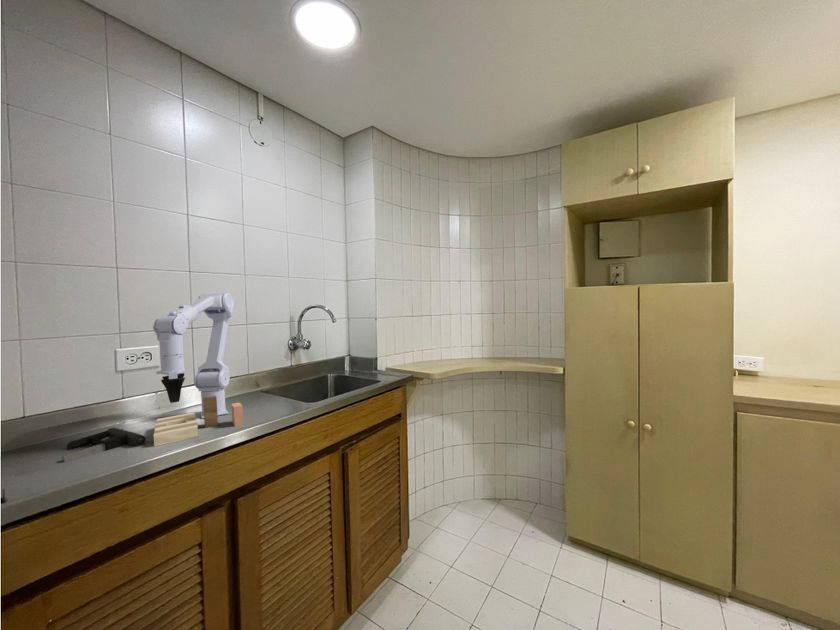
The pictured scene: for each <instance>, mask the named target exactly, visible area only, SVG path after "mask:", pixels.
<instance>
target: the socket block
mask: <svg viewBox="0 0 840 630" xmlns="http://www.w3.org/2000/svg"><path fill="white" fill-rule="evenodd" d="M198 428H199V427H198V423H197V419H196V414H195V412H189V413H183V414H177V415H172V416H166V417H162V418H157V419H156V421H155V427H154V432H153V446H154V447H157V446H161V445H162V446H163V445H167V444H171V443H176V442H181V441H184V440H185V441H186V440H190V439H195V438H198V437H199V429H198Z"/></svg>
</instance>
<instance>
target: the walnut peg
mask: <svg viewBox="0 0 840 630" xmlns="http://www.w3.org/2000/svg"><path fill="white" fill-rule="evenodd" d="M203 405H204V418H203V419H204V421H203V422H204V427H205V429H208V428H212V427H216V426H217V427H218V426H219V419H218V418H219V417H218V416H219V415H217V399H216V396H209V397H203Z"/></svg>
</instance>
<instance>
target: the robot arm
mask: <svg viewBox="0 0 840 630" xmlns="http://www.w3.org/2000/svg"><path fill="white" fill-rule="evenodd" d="M234 306H235V302H234V298H233V296H232V295H231V293H229V292H224V293H222V292H221V293H203V294H201V295H198V299H197V300H195V301H194V302H192V303H191V304H190V305H189V304H188V305H187V304H180V305H179V306H178V308H177V309H175V310H174V311H173V310H172V311H170V312H169V313H168V314H167V315H166V316H165V315H162V316H159V317H158V318H156V320H155V321H154V323H153V326H152V329H153V331H154V333H155V335H156V340H157V341H159V355H160V356H159V358H160V370H158V371H156V372H155V373H156V375H164V376H162V379H160V381H161V382H160V383H162V385H163V386H164V388H165V390H166V393H167V397H168V401H169V402H170V404H173V403H179V402H180V399H181V393H182V386H183V383H184V382H185V380H186V377H185V373H184V372H186V368H185V357H184V356H185V355H184V342H183V341H184V340H183V339H184V338H183V334H184V333H186V331H187V329H188V327H189V325H190V324H192V323H193V322H194V321H196V320H197V319H198V317H199V314H200V313H204V314H205V315H206V316H207V318H209V319H211V320H212V321H213V322H212V327H211V332H210V338H209V342H208V349H207V355H206V360H205V362H203V363H202V364H200V366H198V368H197V371H196V374H195V375H194V379H193V384H194V386H195V387H196V389H198V392H200V398H201V399H200V400H201V411H200V412H199V414H200V417H201V419H204V405H203V397H209V396H216V399H217V415H218V416H223V415H224V416H225V415H227V414H229V411H228V409H226V394H225V392H226V391H225V389H226V388H227V387H228V385H229V383H230V380H231V379H230V378H231V377H230V367H229V366H227V364H225V363H224V357H225V356H224V355H225V350H226V344H227V339H228V333H229V332H228V331H229V327H230V318H231V317H232V316H233V312H234V308H235V307H234Z"/></svg>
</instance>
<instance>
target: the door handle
mask: <svg viewBox="0 0 840 630" xmlns="http://www.w3.org/2000/svg"><path fill="white" fill-rule="evenodd" d="M147 438H148V436H145V435H143V434H140V433H136V432H132V431H130V430H129V431H128V430H125V429H123V428H122V429H120V428H117V427H110V428H108V429H107V430H105V431H101V432H98V433H95V434H91V435H88V436H84V437H82V438H78V439H75V440H71V441H69V442H68V443H67V445H66V448H67V450H70V449H71V450H76V449H80V448H83V447H87V446H89V444H91V445H90V447H88V448H84V449H81V450H78V451H75V452H74V451H73V452H71V453H68V454H65V455H62V456H61V458H62V462H64V463H67V462H70V461H74V460H76V459H79V458H80V459H81V458H84V457H86V456H90V455H93V454H94V455H95V454H98V453H102V452H105V451H109V450H114V449H117V448H121V447H123V446H127V445H130V446H135V447H138V446H143V445H144V444H145V443H146V441H147ZM86 445H87V446H86ZM93 445H94V446H93ZM82 446H83V447H82ZM120 446H121V447H120ZM79 447H80V448H79ZM75 448H76V449H75Z"/></svg>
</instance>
